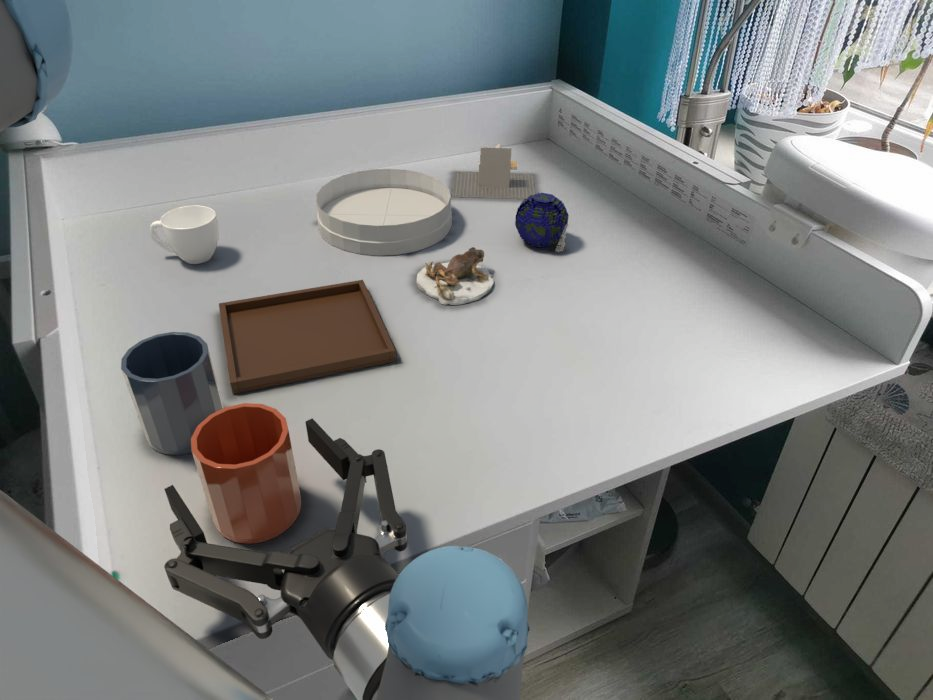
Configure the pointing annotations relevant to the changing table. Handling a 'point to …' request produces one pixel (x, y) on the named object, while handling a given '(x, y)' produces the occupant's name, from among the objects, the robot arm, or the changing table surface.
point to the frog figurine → (456, 279)
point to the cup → (188, 233)
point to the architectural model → (494, 177)
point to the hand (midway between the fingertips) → (244, 461)
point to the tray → (302, 335)
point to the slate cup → (171, 388)
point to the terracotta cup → (247, 472)
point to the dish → (384, 211)
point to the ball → (542, 221)
